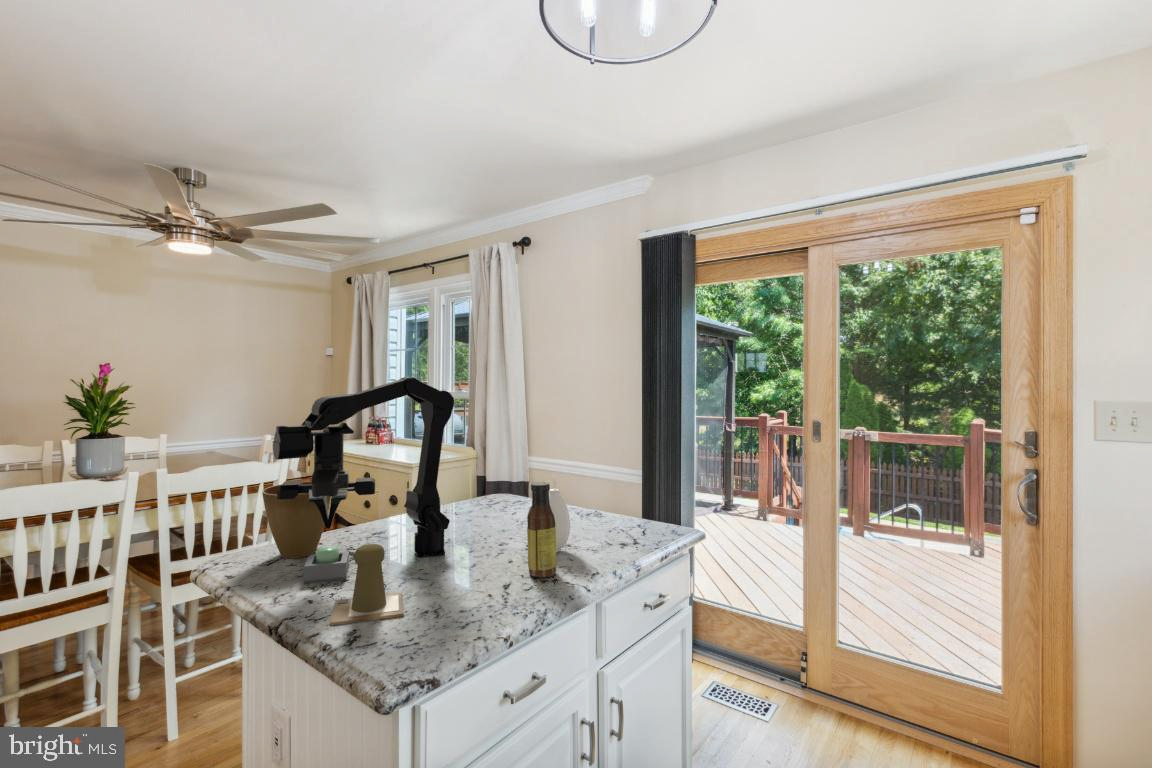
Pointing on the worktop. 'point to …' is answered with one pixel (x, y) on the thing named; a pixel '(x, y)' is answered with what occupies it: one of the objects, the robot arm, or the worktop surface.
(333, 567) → the button housing
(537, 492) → the sauce bottle
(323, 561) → the button
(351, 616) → the tan rectangular board
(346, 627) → the worktop surface
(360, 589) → the cork
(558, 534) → the white vase
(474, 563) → the worktop surface
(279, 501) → the plant pot
